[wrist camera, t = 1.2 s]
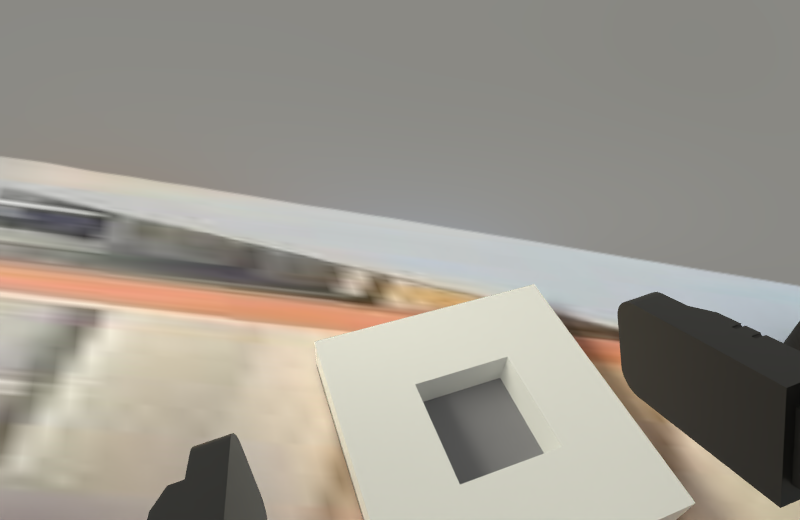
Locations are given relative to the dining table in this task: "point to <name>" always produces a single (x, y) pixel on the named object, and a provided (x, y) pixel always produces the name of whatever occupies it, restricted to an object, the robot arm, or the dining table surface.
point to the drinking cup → (794, 338)
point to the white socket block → (488, 420)
